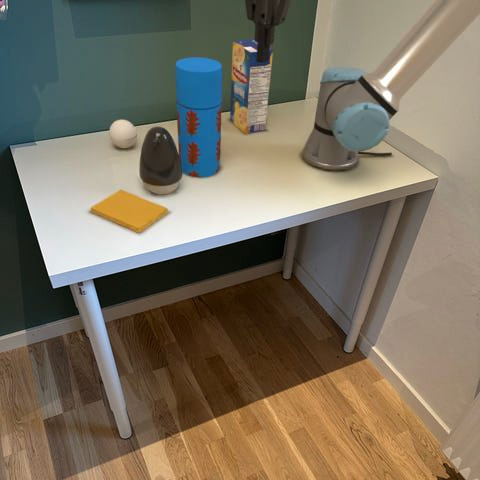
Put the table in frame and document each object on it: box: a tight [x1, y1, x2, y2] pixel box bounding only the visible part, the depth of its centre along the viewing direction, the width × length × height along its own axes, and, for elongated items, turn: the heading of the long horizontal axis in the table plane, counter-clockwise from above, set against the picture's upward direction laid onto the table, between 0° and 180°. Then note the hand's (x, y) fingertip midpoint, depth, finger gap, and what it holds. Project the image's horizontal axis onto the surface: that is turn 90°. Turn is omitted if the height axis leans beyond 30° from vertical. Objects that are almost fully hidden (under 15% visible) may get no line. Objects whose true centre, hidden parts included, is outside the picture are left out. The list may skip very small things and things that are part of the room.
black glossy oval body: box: [138, 125, 183, 195], centre depth 110 cm, size 10×10×15 cm
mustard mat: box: [90, 189, 169, 234], centre depth 107 cm, size 14×10×1 cm
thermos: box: [174, 56, 223, 178], centre depth 115 cm, size 11×11×25 cm
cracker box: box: [229, 38, 274, 135], centre depth 137 cm, size 7×11×22 cm, turn 26°
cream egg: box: [108, 119, 138, 149], centre depth 128 cm, size 10×7×7 cm
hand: (262, 60), depth 100 cm, fingers closed
